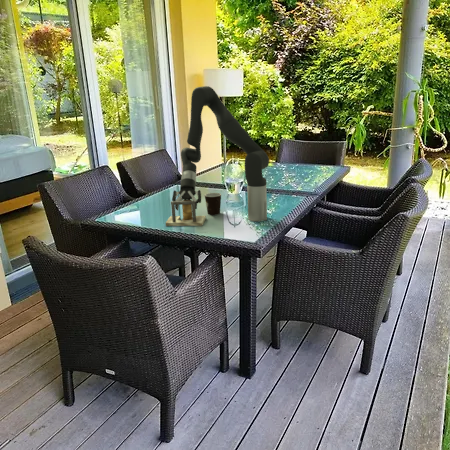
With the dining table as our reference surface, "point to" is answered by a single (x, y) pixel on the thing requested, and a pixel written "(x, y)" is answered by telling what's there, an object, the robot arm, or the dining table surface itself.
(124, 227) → the dining table surface
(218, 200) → the coffee mug
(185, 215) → the wooden knob
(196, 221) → the u-shaped handle base
